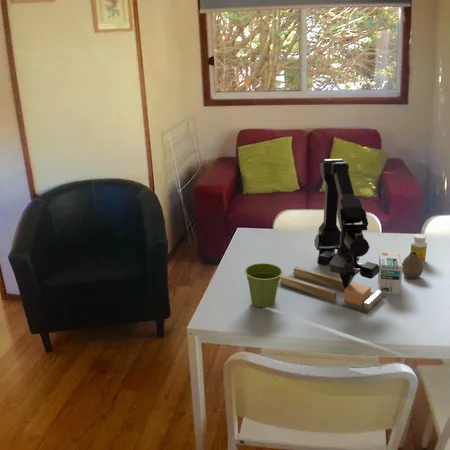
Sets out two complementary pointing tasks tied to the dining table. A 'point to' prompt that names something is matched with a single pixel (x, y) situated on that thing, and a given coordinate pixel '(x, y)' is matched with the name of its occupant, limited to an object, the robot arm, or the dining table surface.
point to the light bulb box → (390, 273)
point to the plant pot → (263, 283)
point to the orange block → (357, 293)
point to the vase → (412, 266)
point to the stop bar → (372, 300)
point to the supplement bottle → (419, 246)
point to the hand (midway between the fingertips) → (346, 288)
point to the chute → (320, 288)
